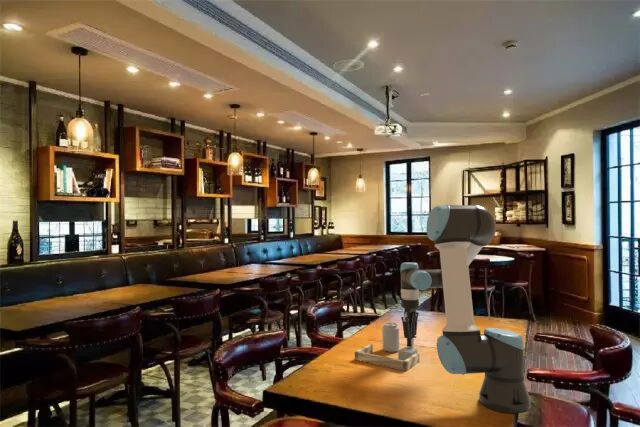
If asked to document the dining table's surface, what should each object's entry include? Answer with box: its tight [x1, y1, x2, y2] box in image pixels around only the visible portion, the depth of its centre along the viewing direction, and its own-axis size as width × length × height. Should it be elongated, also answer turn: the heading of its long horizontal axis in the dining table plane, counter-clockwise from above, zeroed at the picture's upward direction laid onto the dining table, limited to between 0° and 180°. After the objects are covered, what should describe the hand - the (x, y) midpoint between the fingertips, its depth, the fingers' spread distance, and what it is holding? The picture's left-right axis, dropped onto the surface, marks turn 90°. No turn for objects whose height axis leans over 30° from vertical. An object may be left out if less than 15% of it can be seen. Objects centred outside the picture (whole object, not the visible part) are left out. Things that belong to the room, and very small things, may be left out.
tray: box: [354, 344, 420, 372], centre depth 178 cm, size 13×24×4 cm, turn 54°
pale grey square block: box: [397, 346, 418, 360], centre depth 181 cm, size 6×6×4 cm
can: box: [381, 322, 400, 353], centre depth 193 cm, size 8×8×12 cm
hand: (410, 353), depth 184 cm, fingers closed
